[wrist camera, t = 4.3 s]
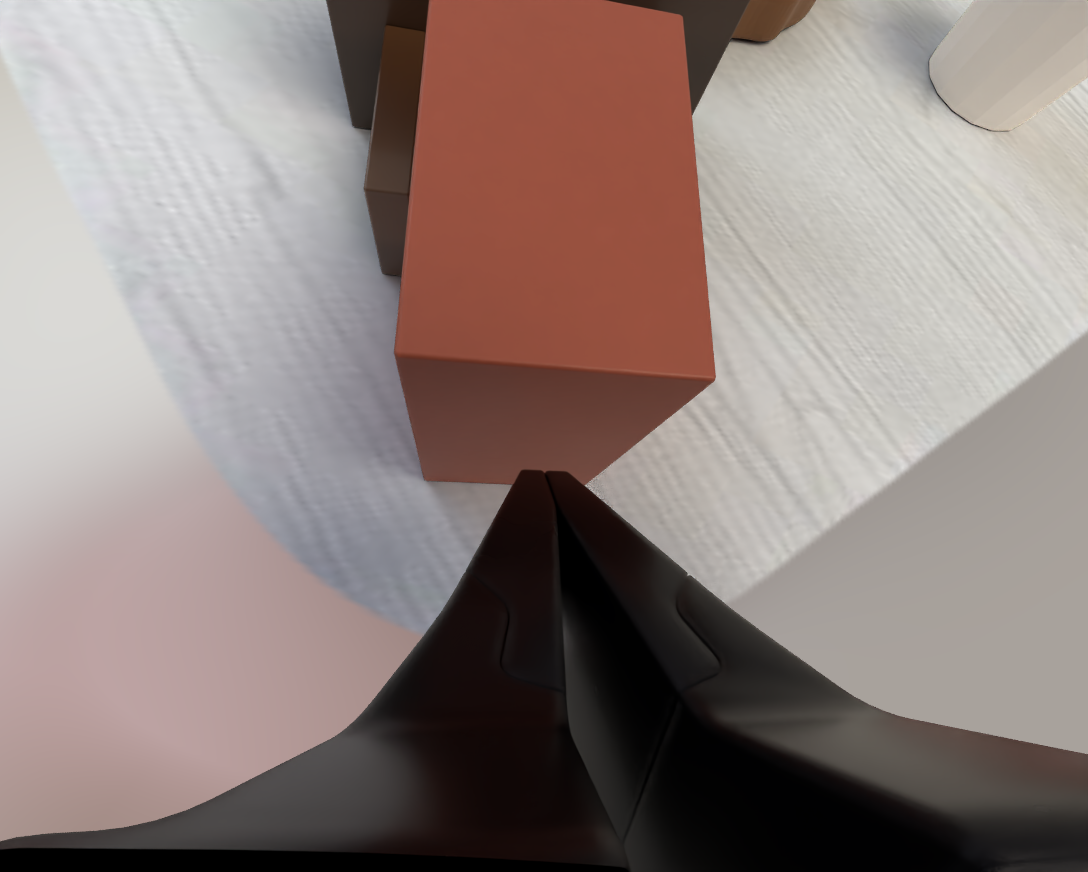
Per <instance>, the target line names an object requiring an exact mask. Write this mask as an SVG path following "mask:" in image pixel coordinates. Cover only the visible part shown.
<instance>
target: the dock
mask: <svg viewBox="0 0 1088 872" xmlns="http://www.w3.org/2000/svg"><path fill="white" fill-rule="evenodd" d="M606 1H611V2H617V3H622V4H627V5H632V6H637V7H642V8H648V9H653V10H658V11H663V12H668V13H674V14H679V15H681V16H682V17H683V25H684V35H685V46H686V57H687V68H688V79H689V90H690V101H691V112H692V115H693V113H694V111H695V109H696V107H697V105H698V103H699V101H700V99H701V97H702V95H703V93H704V91H705V89H706V87H707V85H708V83H709V81H710V79H711V77H712V75H713V73H714V71H715V69H716V67H717V65H718V63H719V61H720V59H721V57H722V55H723V53H724V51H725V49H726V48H727V46H728V44H729V42H730V40H731V38H732V36H733V34H734V32H735V30H736V28H737V26H738V24H739V22H740V20H741V18H742V16H743V14H744V12H745V10H746V8H747V6H748V4H749V2H750V0H606ZM326 2H327V7H328V11H329V16H330V21H331V26H332V30H333V35H334V40H335V45H336V49H337V54H338V59H339V64H340V68H341V73H342V78H343V83H344V87H345V92H346V97H347V102H348V106H349V111H350V116H351V121H352V125H353V126H354V127H359V128H366V129H371V137H370V145H369V152H368V160H367V168H366V175H365V183H364V192H365V197H366V201H367V206H368V211H369V215H370V220H371V225H372V229H373V234H374V238H375V243H376V248H377V252H378V257H379V262H380V266H381V271H382V273H383V274H387V275H397V276H402V266H403V256H404V246H405V236H406V226H407V216H408V206H409V196H410V186H411V176H412V166H413V156H414V146H415V136H416V125H417V115H418V105H419V95H420V85H421V75H422V65H423V55H424V45H425V35H426V25H427V15H428V5H429V0H326Z"/></svg>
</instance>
